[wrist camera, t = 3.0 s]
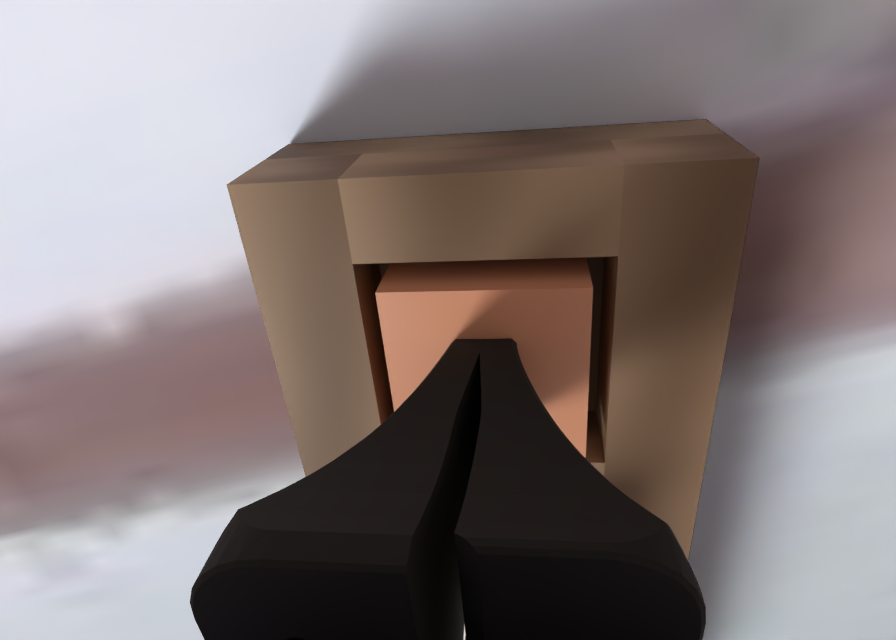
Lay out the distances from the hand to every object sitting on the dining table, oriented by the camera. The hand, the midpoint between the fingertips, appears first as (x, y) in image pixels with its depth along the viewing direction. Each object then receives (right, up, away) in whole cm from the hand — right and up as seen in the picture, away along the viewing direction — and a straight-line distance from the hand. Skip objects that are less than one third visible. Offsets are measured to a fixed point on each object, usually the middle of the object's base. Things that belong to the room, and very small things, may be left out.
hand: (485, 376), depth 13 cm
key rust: (0, +1, +2) cm, 2 cm away
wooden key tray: (+1, -4, +6) cm, 7 cm away
